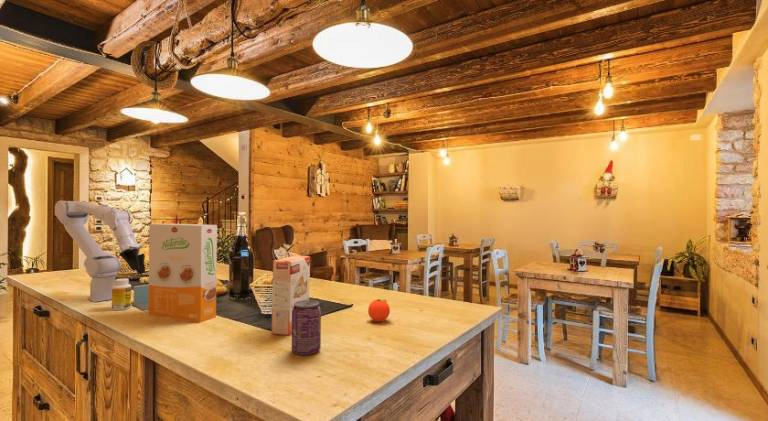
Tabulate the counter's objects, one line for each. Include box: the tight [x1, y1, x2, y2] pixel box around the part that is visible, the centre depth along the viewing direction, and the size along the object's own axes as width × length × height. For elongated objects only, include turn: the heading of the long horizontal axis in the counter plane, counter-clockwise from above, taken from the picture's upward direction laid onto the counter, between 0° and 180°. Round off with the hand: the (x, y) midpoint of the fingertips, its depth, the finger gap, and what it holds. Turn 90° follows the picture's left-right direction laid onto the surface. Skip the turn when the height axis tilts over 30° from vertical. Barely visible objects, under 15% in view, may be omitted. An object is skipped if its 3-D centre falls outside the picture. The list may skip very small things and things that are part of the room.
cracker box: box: [271, 255, 311, 336], centre depth 112 cm, size 14×6×21 cm, turn 168°
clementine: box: [367, 298, 391, 323], centre depth 120 cm, size 8×7×7 cm
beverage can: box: [291, 299, 322, 356], centre depth 94 cm, size 7×7×12 cm
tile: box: [133, 283, 149, 304], centre depth 140 cm, size 2×6×6 cm, turn 140°
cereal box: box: [148, 223, 218, 323], centre depth 123 cm, size 22×6×30 cm, turn 69°
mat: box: [131, 302, 149, 311], centre depth 136 cm, size 11×9×1 cm
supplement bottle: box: [111, 278, 132, 311], centre depth 131 cm, size 6×6×10 cm
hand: (139, 271), depth 139 cm, fingers open, 7 cm apart
